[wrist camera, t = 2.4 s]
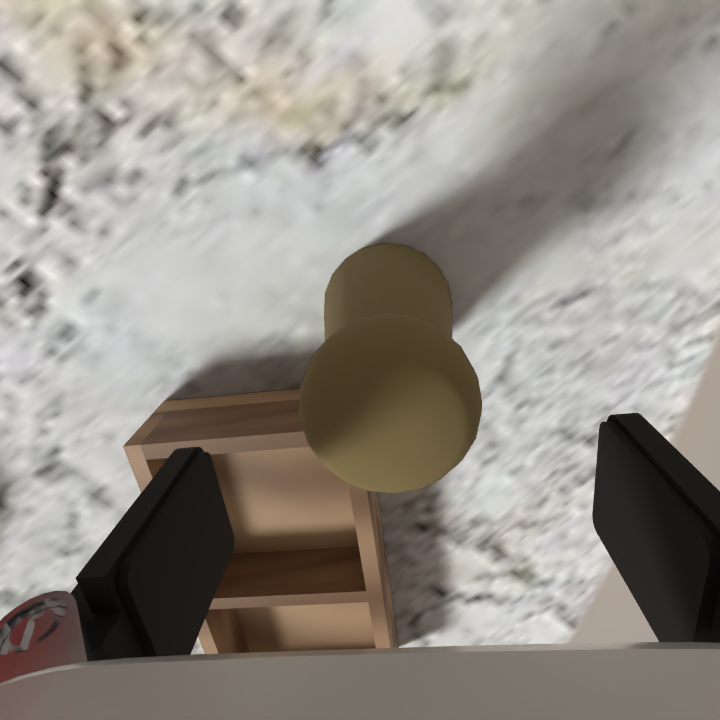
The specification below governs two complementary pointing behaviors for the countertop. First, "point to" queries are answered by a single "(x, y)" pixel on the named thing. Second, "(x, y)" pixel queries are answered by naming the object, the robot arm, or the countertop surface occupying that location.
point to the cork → (389, 375)
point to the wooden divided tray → (279, 528)
